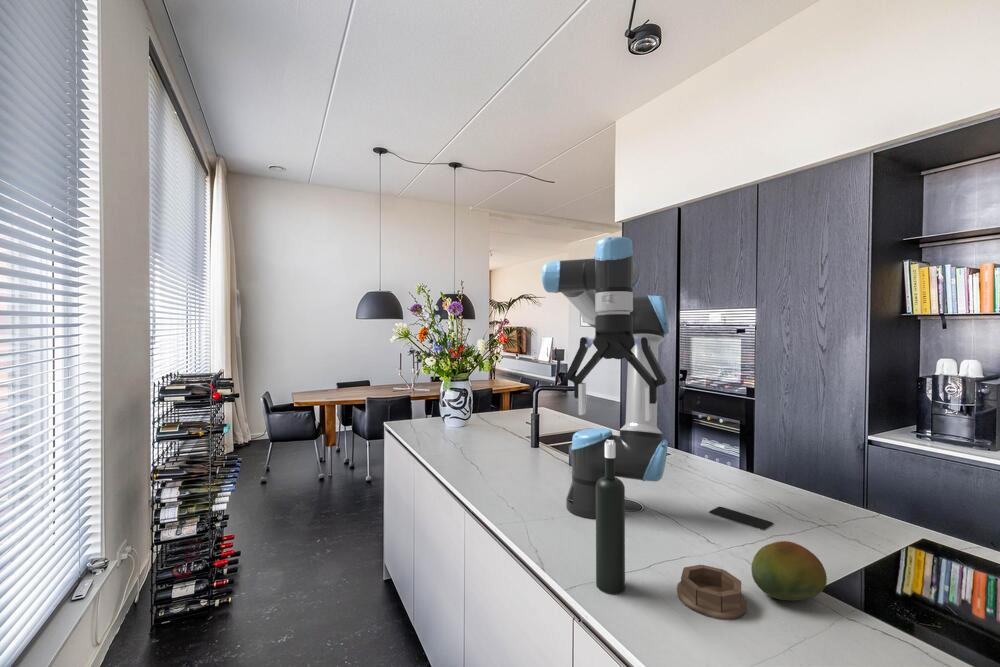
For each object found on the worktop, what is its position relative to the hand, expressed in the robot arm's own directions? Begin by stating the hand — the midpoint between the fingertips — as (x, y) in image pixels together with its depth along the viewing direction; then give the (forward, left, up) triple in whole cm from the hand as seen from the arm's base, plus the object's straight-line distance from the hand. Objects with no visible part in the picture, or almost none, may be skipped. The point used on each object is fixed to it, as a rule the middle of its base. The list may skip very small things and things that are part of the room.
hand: (614, 417), depth 91 cm
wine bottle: (-1, -1, -35) cm, 35 cm away
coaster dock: (+18, +5, -35) cm, 39 cm away
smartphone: (+22, +50, -35) cm, 65 cm away
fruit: (+31, +13, -35) cm, 48 cm away
